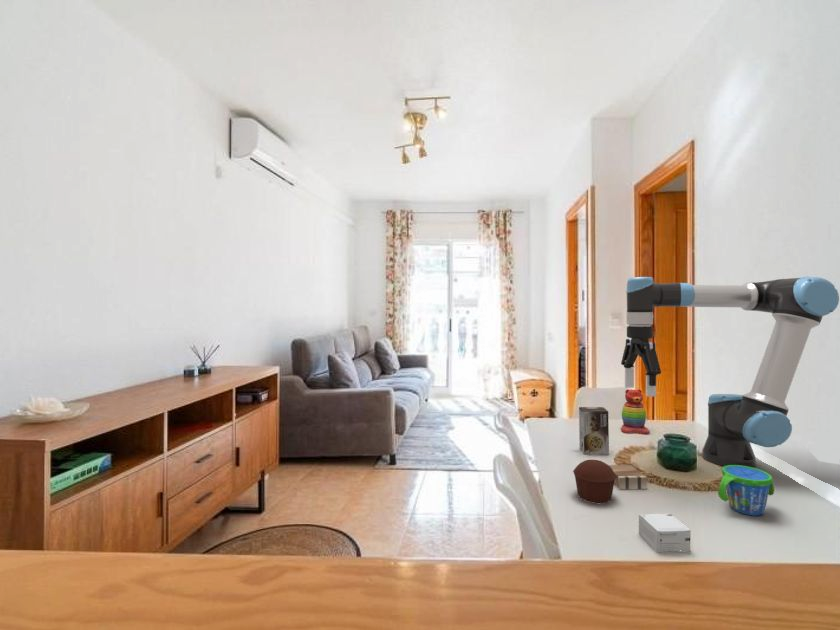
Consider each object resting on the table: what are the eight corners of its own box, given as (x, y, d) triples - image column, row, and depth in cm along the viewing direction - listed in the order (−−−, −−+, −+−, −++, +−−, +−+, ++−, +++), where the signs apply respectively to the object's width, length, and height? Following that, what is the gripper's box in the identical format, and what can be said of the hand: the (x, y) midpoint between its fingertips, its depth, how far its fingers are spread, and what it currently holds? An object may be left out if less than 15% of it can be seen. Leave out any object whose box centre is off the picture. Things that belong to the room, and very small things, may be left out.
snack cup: (735, 521, 108) (735, 481, 107) (703, 502, 118) (704, 466, 118) (792, 518, 109) (792, 478, 109) (755, 499, 120) (756, 463, 119)
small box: (656, 553, 95) (657, 530, 94) (637, 534, 102) (637, 513, 102) (691, 552, 95) (691, 529, 95) (669, 533, 103) (669, 512, 103)
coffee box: (603, 449, 162) (603, 406, 161) (609, 455, 155) (609, 411, 155) (578, 448, 163) (578, 406, 162) (583, 454, 156) (583, 410, 156)
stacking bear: (623, 433, 181) (623, 391, 180) (617, 426, 191) (617, 386, 190) (651, 434, 178) (651, 392, 178) (644, 428, 188) (644, 387, 188)
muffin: (596, 509, 115) (596, 472, 114) (564, 493, 125) (564, 459, 124) (625, 499, 120) (625, 464, 120) (592, 485, 130) (592, 452, 130)
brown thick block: (646, 477, 127) (630, 464, 137) (619, 477, 127) (605, 465, 137) (646, 489, 127) (630, 475, 137) (619, 489, 127) (605, 475, 137)
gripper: (674, 327, 124) (674, 400, 125) (632, 323, 149) (632, 384, 150) (648, 327, 124) (648, 400, 125) (610, 323, 149) (610, 384, 150)
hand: (639, 391), depth 137 cm, fingers open, 13 cm apart
